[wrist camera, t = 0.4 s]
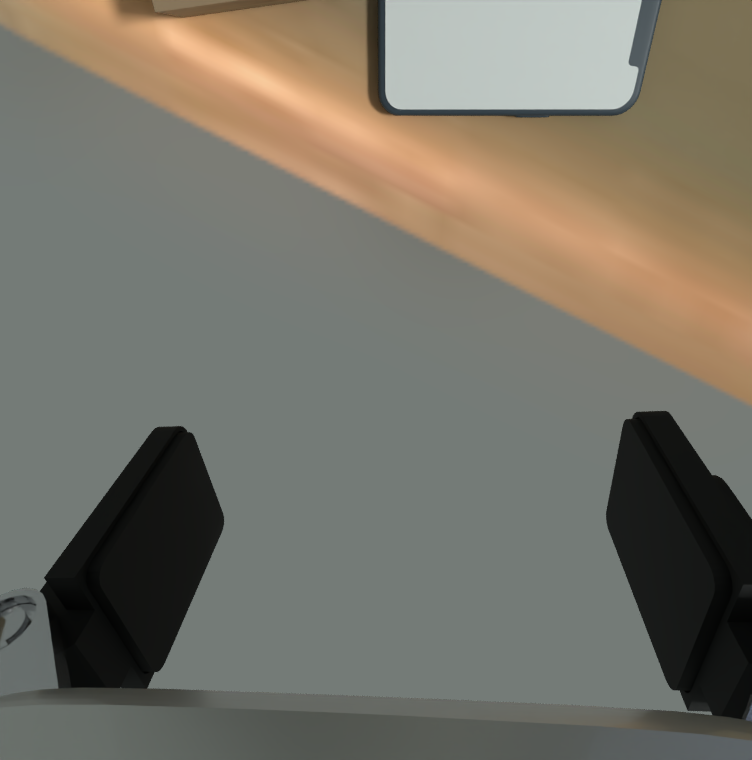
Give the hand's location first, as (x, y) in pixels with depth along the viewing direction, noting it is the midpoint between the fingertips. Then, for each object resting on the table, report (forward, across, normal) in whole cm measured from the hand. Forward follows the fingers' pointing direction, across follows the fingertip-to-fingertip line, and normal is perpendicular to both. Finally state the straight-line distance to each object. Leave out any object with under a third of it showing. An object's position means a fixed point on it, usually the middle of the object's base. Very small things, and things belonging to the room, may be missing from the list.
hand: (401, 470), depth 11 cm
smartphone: (+30, -6, -8) cm, 32 cm away
